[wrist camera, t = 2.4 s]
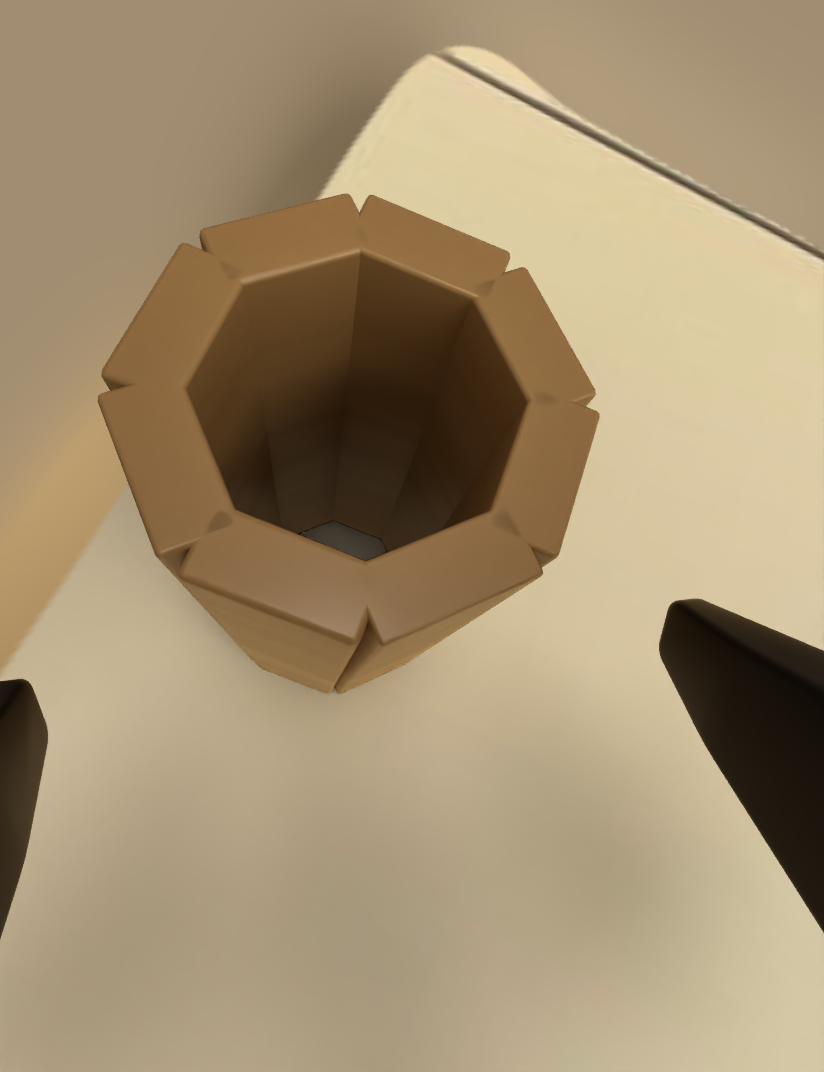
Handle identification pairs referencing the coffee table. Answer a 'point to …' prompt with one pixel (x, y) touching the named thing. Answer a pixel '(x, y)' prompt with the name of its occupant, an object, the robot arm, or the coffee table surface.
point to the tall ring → (348, 431)
